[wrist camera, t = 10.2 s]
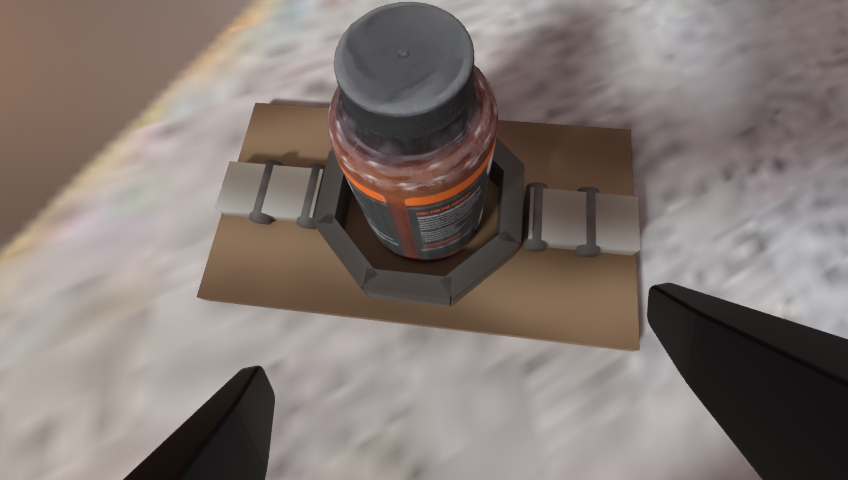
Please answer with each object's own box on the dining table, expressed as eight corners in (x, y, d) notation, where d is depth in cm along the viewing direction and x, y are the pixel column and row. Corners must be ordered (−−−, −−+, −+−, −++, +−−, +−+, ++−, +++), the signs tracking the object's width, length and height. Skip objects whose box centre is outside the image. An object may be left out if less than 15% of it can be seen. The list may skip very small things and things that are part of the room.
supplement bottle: (503, 200, 22) (557, 31, 11) (436, 288, 21) (426, 191, 10) (415, 144, 23) (389, -54, 13) (347, 223, 22) (253, 75, 11)
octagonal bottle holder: (632, 351, 20) (660, 346, 17) (205, 299, 22) (171, 288, 19) (625, 137, 24) (647, 107, 21) (261, 111, 26) (239, 80, 23)
